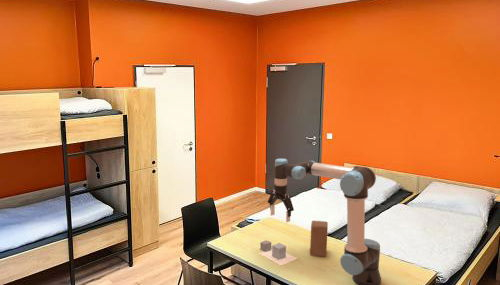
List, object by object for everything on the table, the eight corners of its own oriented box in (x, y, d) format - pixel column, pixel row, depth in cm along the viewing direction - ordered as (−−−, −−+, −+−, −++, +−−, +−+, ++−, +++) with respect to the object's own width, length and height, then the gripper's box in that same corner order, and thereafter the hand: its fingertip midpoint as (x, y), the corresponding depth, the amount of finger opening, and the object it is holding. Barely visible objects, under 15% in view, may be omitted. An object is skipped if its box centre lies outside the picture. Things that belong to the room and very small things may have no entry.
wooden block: (326, 257, 238) (327, 227, 235) (309, 256, 240) (311, 225, 236) (326, 250, 248) (327, 221, 244) (310, 248, 250) (311, 219, 246)
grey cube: (271, 249, 247) (271, 242, 247) (265, 251, 244) (265, 244, 243) (266, 247, 251) (266, 240, 250) (260, 249, 248) (260, 242, 247)
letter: (297, 258, 236) (297, 258, 236) (281, 266, 227) (281, 265, 227) (274, 247, 251) (275, 247, 251) (258, 253, 242) (258, 253, 242)
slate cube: (285, 256, 238) (286, 246, 237) (278, 259, 234) (279, 248, 233) (279, 253, 243) (279, 242, 241) (272, 256, 239) (272, 245, 238)
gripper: (300, 188, 223) (299, 222, 227) (271, 179, 242) (270, 211, 246) (291, 190, 218) (290, 225, 222) (262, 181, 237) (261, 213, 241)
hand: (280, 218), depth 234 cm, fingers open, 13 cm apart
